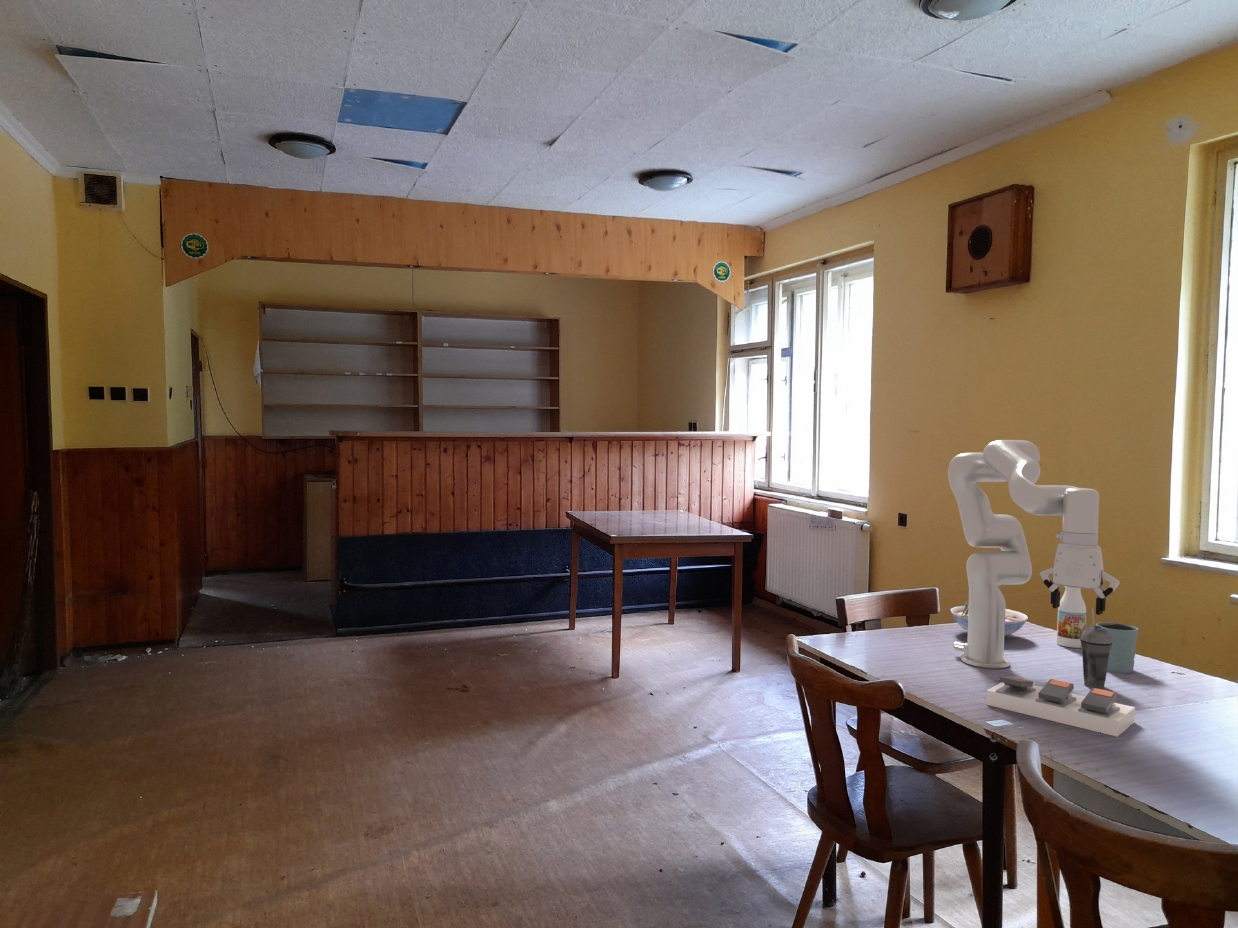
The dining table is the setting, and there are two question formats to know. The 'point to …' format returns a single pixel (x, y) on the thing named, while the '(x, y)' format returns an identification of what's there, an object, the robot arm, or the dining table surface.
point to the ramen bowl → (1012, 618)
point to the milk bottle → (1071, 618)
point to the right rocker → (1099, 700)
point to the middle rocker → (1056, 690)
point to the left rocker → (1016, 682)
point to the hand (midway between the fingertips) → (1077, 610)
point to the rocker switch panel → (1061, 709)
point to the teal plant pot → (1121, 646)
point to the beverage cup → (1095, 654)
